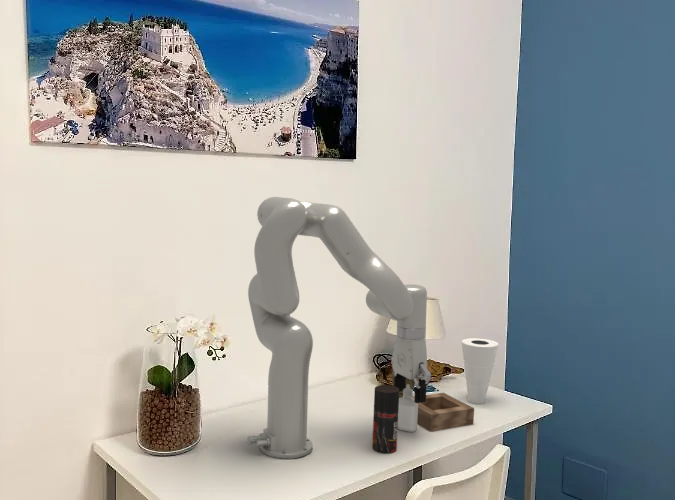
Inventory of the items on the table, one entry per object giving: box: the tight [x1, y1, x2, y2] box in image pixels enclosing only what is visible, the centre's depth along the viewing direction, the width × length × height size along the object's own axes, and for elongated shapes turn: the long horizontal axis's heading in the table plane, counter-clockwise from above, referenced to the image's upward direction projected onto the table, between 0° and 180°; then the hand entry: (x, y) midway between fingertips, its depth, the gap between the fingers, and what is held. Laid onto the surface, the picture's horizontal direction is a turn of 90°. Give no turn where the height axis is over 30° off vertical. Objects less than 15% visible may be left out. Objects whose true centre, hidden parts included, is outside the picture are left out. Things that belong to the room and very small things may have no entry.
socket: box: [412, 392, 475, 432], centre depth 184 cm, size 14×14×4 cm
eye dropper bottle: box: [398, 384, 418, 433], centre depth 176 cm, size 4×6×12 cm
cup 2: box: [461, 337, 499, 405], centre depth 199 cm, size 11×11×18 cm
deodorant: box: [371, 384, 399, 455], centre depth 162 cm, size 6×6×15 cm
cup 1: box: [391, 369, 416, 398], centre depth 201 cm, size 8×7×8 cm
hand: (409, 396), depth 176 cm, fingers open, 9 cm apart
